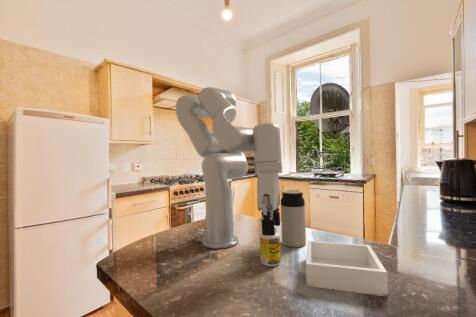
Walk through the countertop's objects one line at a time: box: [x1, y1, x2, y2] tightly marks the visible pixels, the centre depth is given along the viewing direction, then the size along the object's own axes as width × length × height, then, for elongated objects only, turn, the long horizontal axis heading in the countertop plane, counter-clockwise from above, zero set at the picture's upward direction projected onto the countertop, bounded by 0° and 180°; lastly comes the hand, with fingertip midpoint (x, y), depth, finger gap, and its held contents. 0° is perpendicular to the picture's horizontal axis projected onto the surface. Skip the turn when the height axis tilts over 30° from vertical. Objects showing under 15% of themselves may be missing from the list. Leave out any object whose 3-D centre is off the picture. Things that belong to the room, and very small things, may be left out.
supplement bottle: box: [259, 225, 281, 267], centre depth 66 cm, size 6×6×10 cm
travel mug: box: [280, 189, 307, 248], centre depth 80 cm, size 8×8×18 cm
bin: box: [305, 240, 389, 298], centre depth 58 cm, size 16×16×5 cm
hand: (271, 230), depth 65 cm, fingers open, 9 cm apart
